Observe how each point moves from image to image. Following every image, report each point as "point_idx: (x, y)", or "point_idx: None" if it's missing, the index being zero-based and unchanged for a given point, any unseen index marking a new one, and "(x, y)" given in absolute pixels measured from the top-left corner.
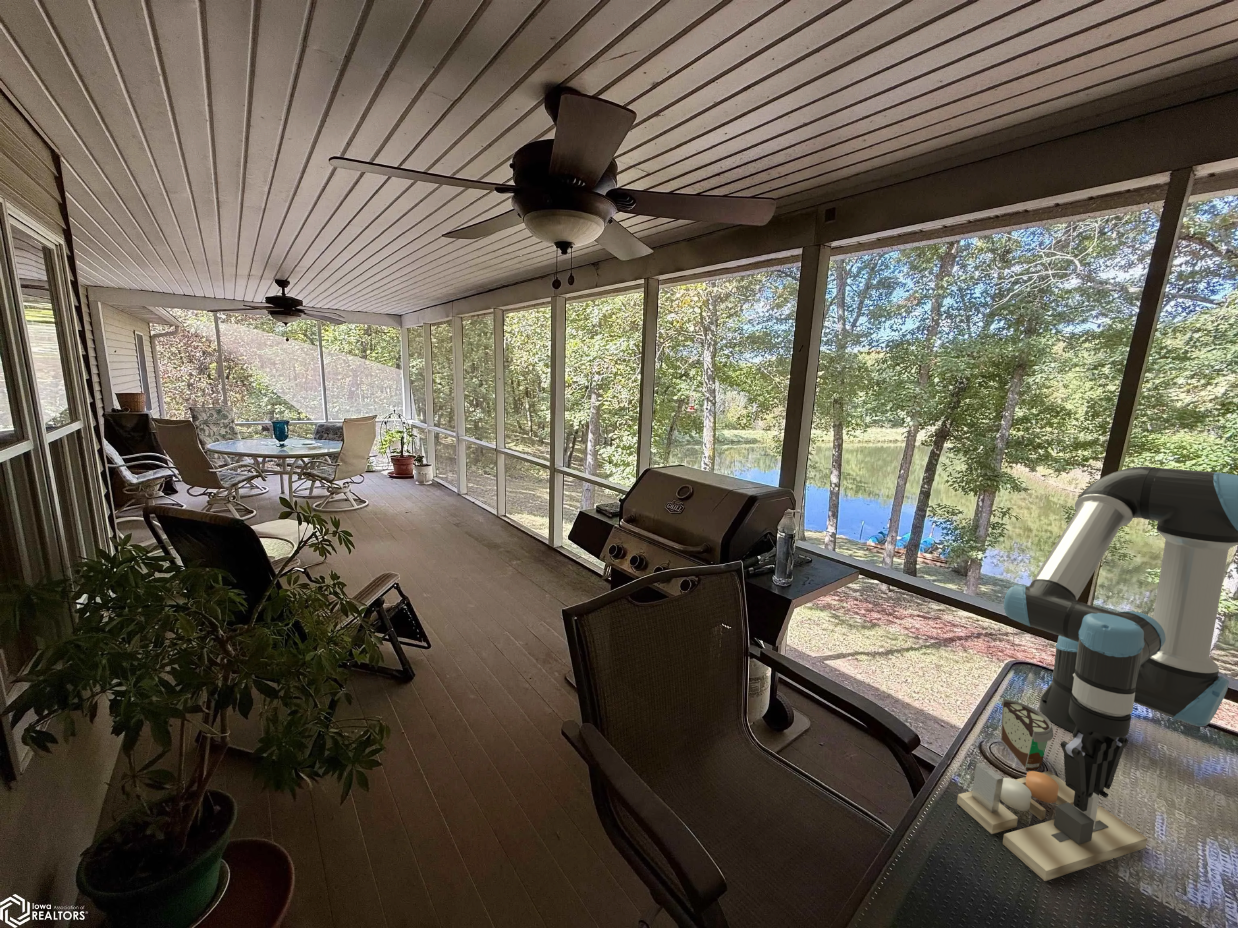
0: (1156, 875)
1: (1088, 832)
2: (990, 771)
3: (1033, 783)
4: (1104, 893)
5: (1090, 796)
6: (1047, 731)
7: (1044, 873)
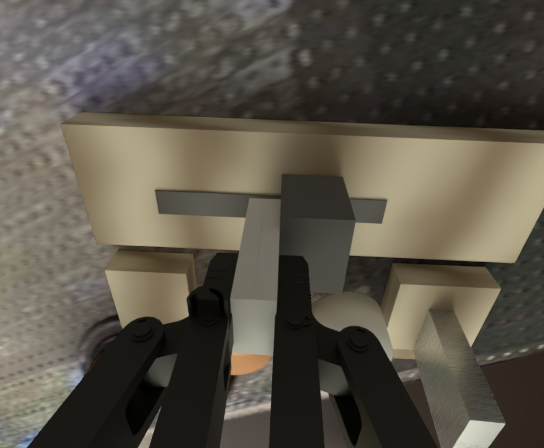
0: (160, 28)
1: (305, 192)
2: (472, 440)
3: None
4: (426, 38)
5: (292, 310)
6: None
7: None
